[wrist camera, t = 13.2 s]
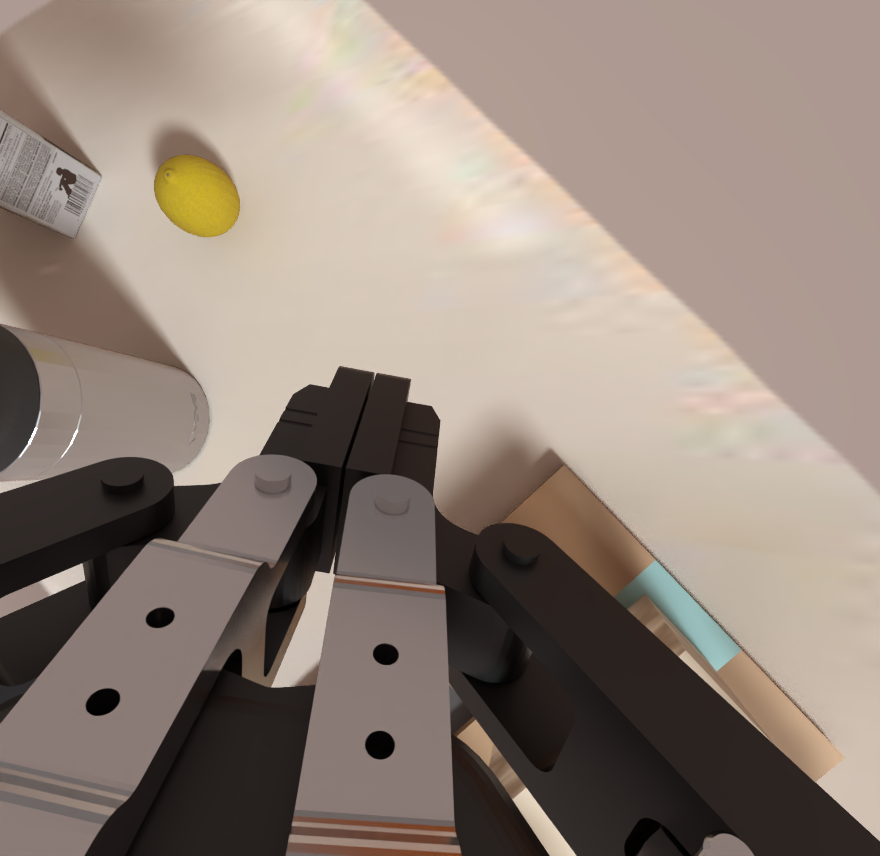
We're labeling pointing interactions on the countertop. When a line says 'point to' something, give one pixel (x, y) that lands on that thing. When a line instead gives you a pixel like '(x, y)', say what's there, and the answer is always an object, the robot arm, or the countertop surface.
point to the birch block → (684, 650)
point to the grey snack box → (42, 179)
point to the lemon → (197, 195)
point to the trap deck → (637, 573)
